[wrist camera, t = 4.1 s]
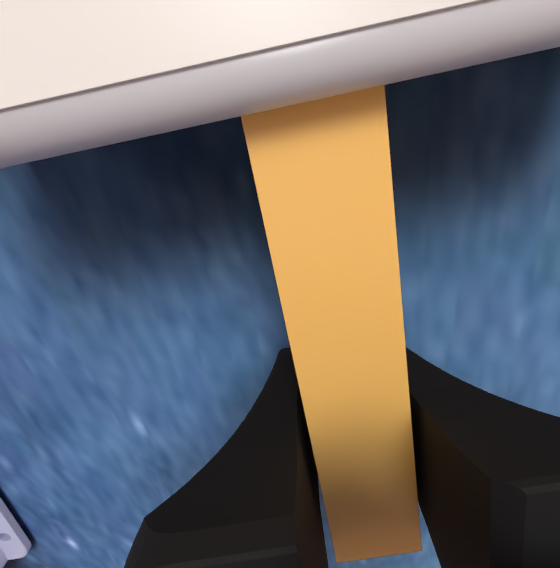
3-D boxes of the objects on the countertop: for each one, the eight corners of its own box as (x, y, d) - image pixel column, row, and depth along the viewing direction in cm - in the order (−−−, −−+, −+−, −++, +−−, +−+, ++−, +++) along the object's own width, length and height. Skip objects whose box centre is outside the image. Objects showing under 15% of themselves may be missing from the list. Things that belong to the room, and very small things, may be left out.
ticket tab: (369, 405, 13) (421, 550, 8) (314, 414, 13) (337, 562, 9) (303, -91, 8) (344, -418, 3) (216, -70, 8) (139, -356, 3)
